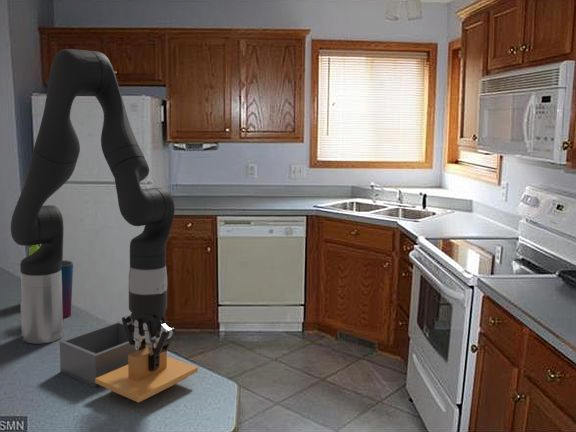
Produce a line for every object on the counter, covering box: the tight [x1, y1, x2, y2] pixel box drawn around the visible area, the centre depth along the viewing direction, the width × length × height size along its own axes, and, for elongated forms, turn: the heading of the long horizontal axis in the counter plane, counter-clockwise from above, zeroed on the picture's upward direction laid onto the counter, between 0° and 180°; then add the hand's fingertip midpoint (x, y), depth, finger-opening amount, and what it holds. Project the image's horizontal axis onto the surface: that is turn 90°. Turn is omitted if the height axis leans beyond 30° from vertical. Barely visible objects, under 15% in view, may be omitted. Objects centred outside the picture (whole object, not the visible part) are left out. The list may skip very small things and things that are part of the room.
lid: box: [95, 343, 199, 404], centre depth 116 cm, size 12×16×7 cm
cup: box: [61, 259, 74, 319], centre depth 155 cm, size 7×7×15 cm
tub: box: [59, 320, 154, 388], centre depth 126 cm, size 12×16×7 cm
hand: (148, 367), depth 116 cm, fingers closed on lid, 2 cm apart
